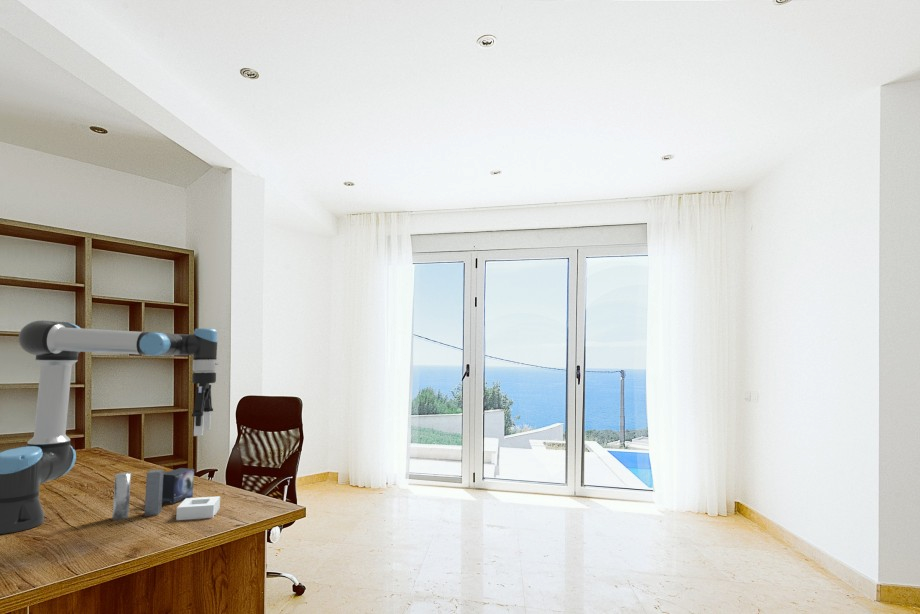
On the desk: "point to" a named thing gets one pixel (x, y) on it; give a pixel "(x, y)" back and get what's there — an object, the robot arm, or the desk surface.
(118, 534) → the desk surface
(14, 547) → the desk surface
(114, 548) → the desk surface
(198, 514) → the socket block
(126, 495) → the round bit
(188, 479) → the small box
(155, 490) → the square bit
